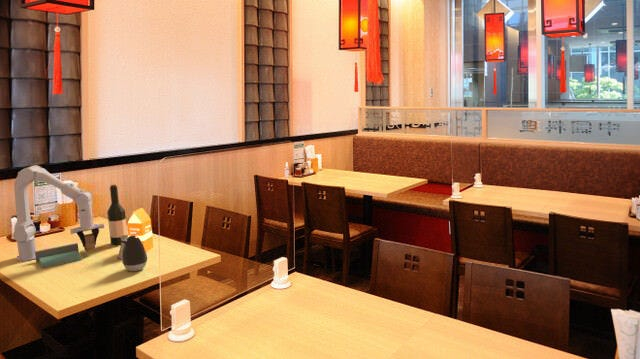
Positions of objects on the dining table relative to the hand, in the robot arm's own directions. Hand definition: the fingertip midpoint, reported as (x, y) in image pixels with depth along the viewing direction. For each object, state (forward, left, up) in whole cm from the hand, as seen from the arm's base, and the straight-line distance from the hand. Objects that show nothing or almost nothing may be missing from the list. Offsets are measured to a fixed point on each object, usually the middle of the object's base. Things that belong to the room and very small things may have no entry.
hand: (89, 245), depth 242 cm
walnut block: (0, 0, -2) cm, 2 cm away
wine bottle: (-9, +16, -5) cm, 19 cm away
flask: (+15, +12, -5) cm, 20 cm away
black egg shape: (+35, +10, -5) cm, 37 cm away
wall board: (-1, -13, -5) cm, 14 cm away
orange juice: (+10, +21, -5) cm, 24 cm away
